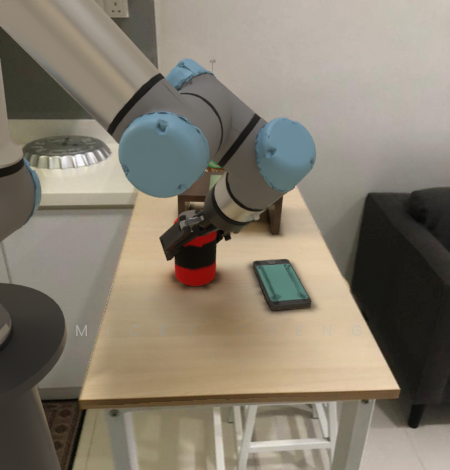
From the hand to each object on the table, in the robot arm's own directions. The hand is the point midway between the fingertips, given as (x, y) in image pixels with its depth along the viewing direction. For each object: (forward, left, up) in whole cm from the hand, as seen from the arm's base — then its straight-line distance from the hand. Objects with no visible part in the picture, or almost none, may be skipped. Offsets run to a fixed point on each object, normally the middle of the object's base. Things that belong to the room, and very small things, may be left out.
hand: (186, 248), depth 87 cm
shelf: (+8, +22, -4) cm, 24 cm away
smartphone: (+17, -5, -5) cm, 19 cm away
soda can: (+2, -3, -4) cm, 5 cm away
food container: (+6, +48, -5) cm, 49 cm away
